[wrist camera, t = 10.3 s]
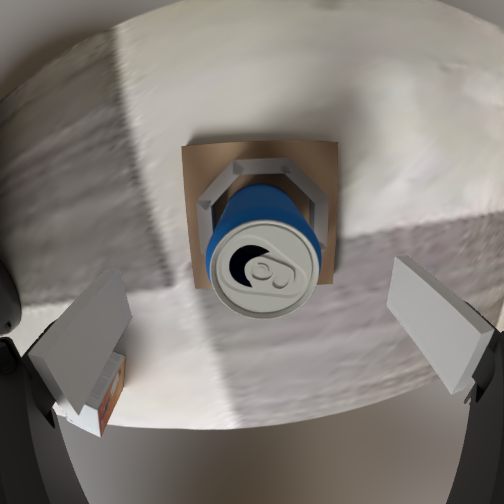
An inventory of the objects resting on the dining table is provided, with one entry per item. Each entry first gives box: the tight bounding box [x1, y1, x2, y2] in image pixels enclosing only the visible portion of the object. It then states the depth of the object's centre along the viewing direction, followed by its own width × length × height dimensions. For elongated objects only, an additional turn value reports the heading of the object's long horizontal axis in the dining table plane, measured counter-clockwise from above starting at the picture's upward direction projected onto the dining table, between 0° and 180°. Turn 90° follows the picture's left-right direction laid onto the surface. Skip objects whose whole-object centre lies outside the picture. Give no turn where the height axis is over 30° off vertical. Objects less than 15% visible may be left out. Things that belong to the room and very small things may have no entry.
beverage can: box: [205, 183, 322, 320], centre depth 20 cm, size 6×6×12 cm
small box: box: [65, 351, 126, 437], centre depth 30 cm, size 8×6×10 cm
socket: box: [181, 141, 338, 289], centre depth 25 cm, size 14×14×4 cm
